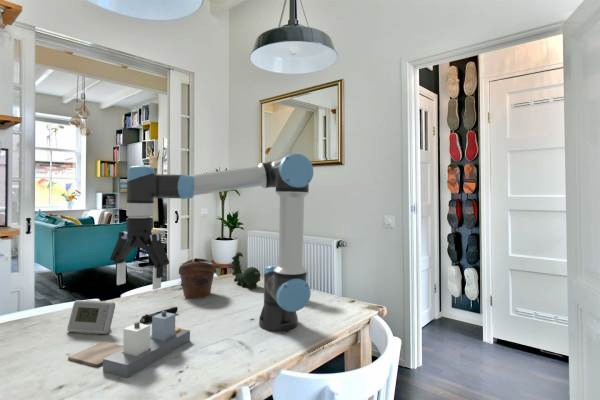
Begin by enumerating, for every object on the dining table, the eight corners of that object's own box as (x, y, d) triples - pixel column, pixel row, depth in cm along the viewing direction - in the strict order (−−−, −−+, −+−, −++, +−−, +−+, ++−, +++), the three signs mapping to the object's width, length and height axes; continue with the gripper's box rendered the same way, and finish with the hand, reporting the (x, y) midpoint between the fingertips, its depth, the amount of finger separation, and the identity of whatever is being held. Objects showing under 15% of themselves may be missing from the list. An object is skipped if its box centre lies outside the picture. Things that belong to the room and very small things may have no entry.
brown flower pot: (198, 287, 185) (199, 254, 185) (224, 294, 174) (224, 258, 173) (169, 295, 171) (169, 259, 170) (194, 303, 159) (194, 264, 159)
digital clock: (64, 332, 123) (64, 303, 123) (86, 323, 131) (87, 296, 131) (98, 339, 118) (99, 308, 117) (120, 329, 126) (120, 300, 126)
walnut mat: (131, 350, 110) (131, 347, 110) (97, 367, 98) (97, 364, 98) (103, 343, 114) (103, 341, 114) (68, 359, 103) (68, 356, 103)
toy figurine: (228, 285, 196) (253, 291, 177) (227, 252, 197) (251, 254, 178) (242, 283, 202) (267, 288, 184) (241, 251, 203) (266, 252, 185)
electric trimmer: (179, 314, 144) (179, 307, 144) (144, 325, 132) (144, 316, 132) (174, 312, 146) (174, 305, 146) (139, 322, 134) (139, 314, 134)
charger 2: (175, 341, 113) (175, 310, 113) (164, 347, 109) (164, 315, 109) (163, 338, 115) (163, 308, 115) (151, 344, 111) (152, 312, 110)
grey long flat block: (189, 340, 117) (190, 328, 117) (127, 377, 93) (127, 362, 93) (168, 336, 121) (169, 324, 121) (102, 371, 96) (103, 356, 96)
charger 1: (149, 355, 103) (150, 321, 103) (136, 362, 98) (136, 327, 98) (136, 352, 105) (137, 319, 105) (123, 359, 100) (123, 324, 100)
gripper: (182, 218, 105) (180, 287, 105) (118, 214, 113) (116, 279, 113) (165, 219, 98) (163, 293, 98) (98, 215, 105) (96, 284, 106)
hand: (138, 286), depth 105 cm, fingers open, 13 cm apart
